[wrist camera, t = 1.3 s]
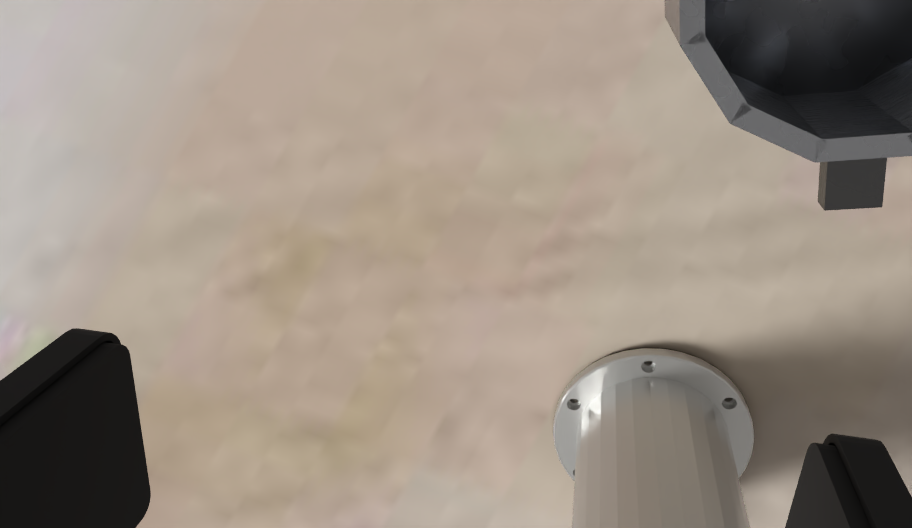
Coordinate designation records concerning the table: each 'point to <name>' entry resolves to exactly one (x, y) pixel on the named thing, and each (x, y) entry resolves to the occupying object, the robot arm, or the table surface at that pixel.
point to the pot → (810, 81)
